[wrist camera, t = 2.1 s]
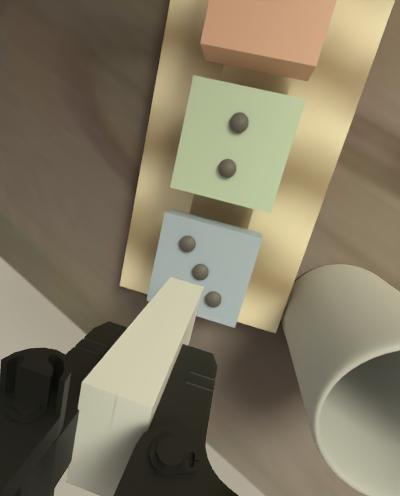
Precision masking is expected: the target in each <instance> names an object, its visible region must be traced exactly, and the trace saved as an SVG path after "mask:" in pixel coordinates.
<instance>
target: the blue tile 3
mask: <svg viewBox="0 0 400 496" xmlns="http://www.w3.org/2000/svg"><path fill="white" fill-rule="evenodd" d="M262 239H263V238H262V235H261V233H259V232H256V231H252V230H248V229H244V228H241V227H237V226H233V225H230V224H226V223H222V222H218V221H215V220H211V219H207V218H203V217H200V216H196V215H192V214H188V213H185V212H181V211H177V210H174V209H173V210H170V211H167V212H165V214H164V219H163V224H162V228H161V233H160V238H159V243H158V248H157V252H156V257H155V262H154V267H153V272H152V276H151V281H150V286H149V291H148V295H147V300H146V301H149V302H150V301H151V300H152V299H153V297H154V296H155V295H156V294H157V293H158V291H159V290H160V289H161V288H162V287H163V285H164V284H165V283H166V282H167V281H168V280H169V278H170V277H172V278H175V279H179V280H182V281H186V282H189V283H192V284H196V285H199V286H203V287H204V288H203V292H202V296H201V299H200V303H199V307H198V311H197V314H196V316H198V317H201V318H204V319H207V320H211V321H214V322H217V323H220V324H224V325H227V326H230V327H233V328H235V326H236V323H237V319H238V316H239V313H240V310H241V307H242V303H243V300H244V297H245V294H246V290H247V287H248V284H249V281H250V278H251V274H252V271H253V268H254V265H255V262H256V258H257V255H258V252H259V249H260V246H261V242H262Z"/></svg>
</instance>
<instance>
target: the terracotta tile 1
mask: <svg viewBox="0 0 400 496" xmlns="http://www.w3.org/2000/svg"><path fill="white" fill-rule="evenodd" d="M336 1H337V0H209V3H208V8H207V13H206V18H205V23H204V27H203V32H202V37H201V42H200V44H201V48H202V51H203V54H204V57H205V60H206V61H210V62H215V63H220V64H224V65H229V66H234V67H239V68H244V69H249V70H254V71H258V72H263V73H268V74H273V75H278V76H283V77H288V78H293V79H297V80H302V81H308V80H309V78H310V76H311V75H312V73H313V71H314V69H315V68H316V66H317V62H318V59H319V56H320V53H321V50H322V46H323V43H324V40H325V37H326V33H327V30H328V27H329V24H330V21H331V17H332V14H333V11H334V8H335V5H336Z"/></svg>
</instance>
